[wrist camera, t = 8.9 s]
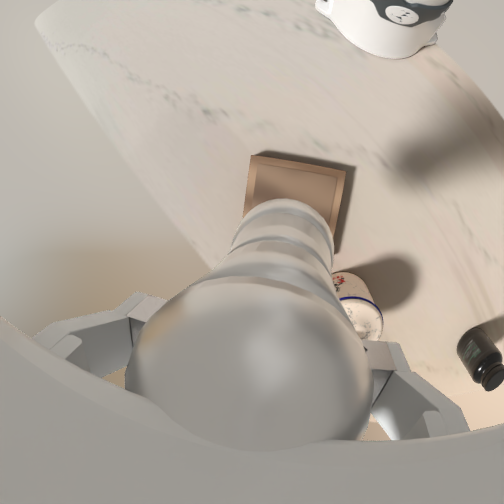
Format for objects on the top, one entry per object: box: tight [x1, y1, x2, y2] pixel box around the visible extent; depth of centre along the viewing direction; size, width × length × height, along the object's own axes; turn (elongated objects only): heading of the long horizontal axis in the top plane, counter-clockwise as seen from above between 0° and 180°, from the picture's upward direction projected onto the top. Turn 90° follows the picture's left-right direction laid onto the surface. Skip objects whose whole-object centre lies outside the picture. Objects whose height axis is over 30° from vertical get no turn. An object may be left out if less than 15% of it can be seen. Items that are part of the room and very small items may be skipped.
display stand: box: [243, 155, 346, 237], centre depth 35 cm, size 12×12×2 cm
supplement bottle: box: [457, 328, 504, 391], centre depth 32 cm, size 7×7×12 cm
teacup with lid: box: [332, 272, 383, 341], centre depth 34 cm, size 12×9×12 cm
